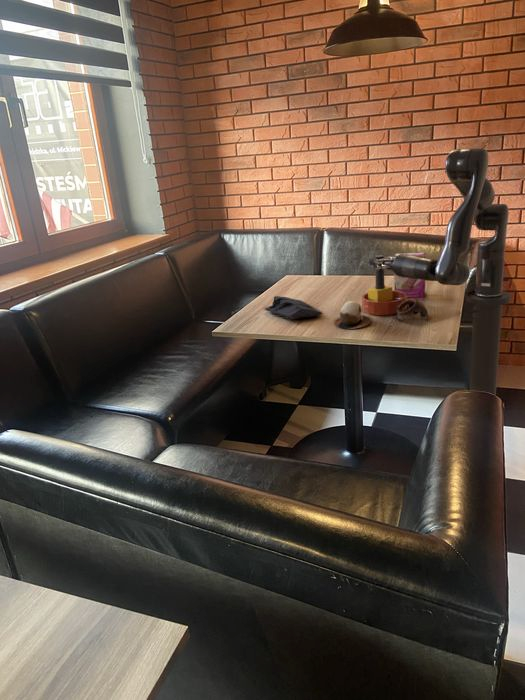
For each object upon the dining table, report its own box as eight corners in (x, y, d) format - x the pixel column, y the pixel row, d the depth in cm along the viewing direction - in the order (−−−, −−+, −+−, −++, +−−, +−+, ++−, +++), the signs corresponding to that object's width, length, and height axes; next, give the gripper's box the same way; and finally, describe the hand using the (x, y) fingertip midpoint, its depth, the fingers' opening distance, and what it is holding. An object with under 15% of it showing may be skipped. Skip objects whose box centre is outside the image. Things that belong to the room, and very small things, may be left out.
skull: (341, 312, 188) (359, 292, 182) (362, 333, 186) (380, 314, 180) (325, 322, 179) (343, 301, 173) (347, 344, 177) (366, 324, 171)
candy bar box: (394, 299, 202) (393, 256, 197) (395, 295, 207) (394, 253, 201) (425, 298, 199) (425, 254, 193) (425, 294, 204) (425, 251, 198)
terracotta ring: (379, 301, 202) (378, 288, 200) (415, 307, 190) (415, 293, 189) (353, 311, 192) (352, 298, 190) (390, 318, 181) (390, 304, 179)
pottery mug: (432, 325, 172) (420, 306, 168) (405, 337, 176) (392, 318, 173) (430, 306, 181) (419, 287, 178) (405, 317, 186) (393, 299, 182)
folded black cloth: (286, 324, 185) (285, 311, 183) (263, 309, 205) (261, 298, 203) (325, 315, 190) (324, 302, 188) (299, 302, 209) (298, 290, 208)
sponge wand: (382, 296, 195) (381, 253, 189) (392, 299, 191) (391, 254, 185) (368, 301, 192) (366, 256, 186) (377, 303, 188) (376, 258, 182)
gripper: (425, 251, 177) (387, 246, 191) (395, 259, 170) (358, 253, 184) (425, 273, 180) (387, 267, 194) (395, 282, 173) (358, 274, 187)
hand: (373, 260), depth 189 cm, fingers closed on sponge wand, 3 cm apart
